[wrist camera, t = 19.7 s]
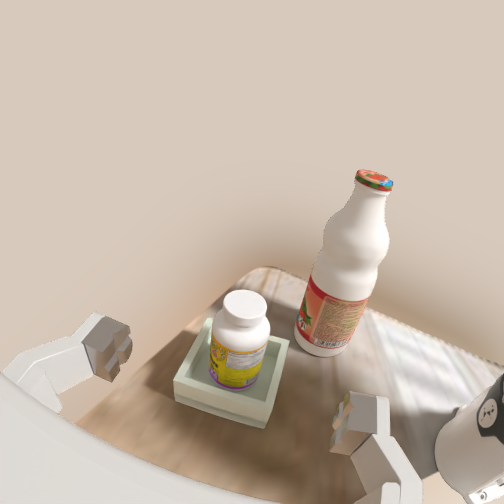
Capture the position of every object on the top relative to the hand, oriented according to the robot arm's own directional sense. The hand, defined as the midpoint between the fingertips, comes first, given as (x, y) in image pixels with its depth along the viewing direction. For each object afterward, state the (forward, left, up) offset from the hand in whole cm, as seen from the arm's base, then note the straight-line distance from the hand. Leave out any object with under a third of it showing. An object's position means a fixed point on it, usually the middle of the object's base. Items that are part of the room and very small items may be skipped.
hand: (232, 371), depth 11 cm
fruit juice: (-8, -32, -28) cm, 44 cm away
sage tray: (+3, -19, -28) cm, 34 cm away
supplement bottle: (+3, -19, -26) cm, 32 cm away
